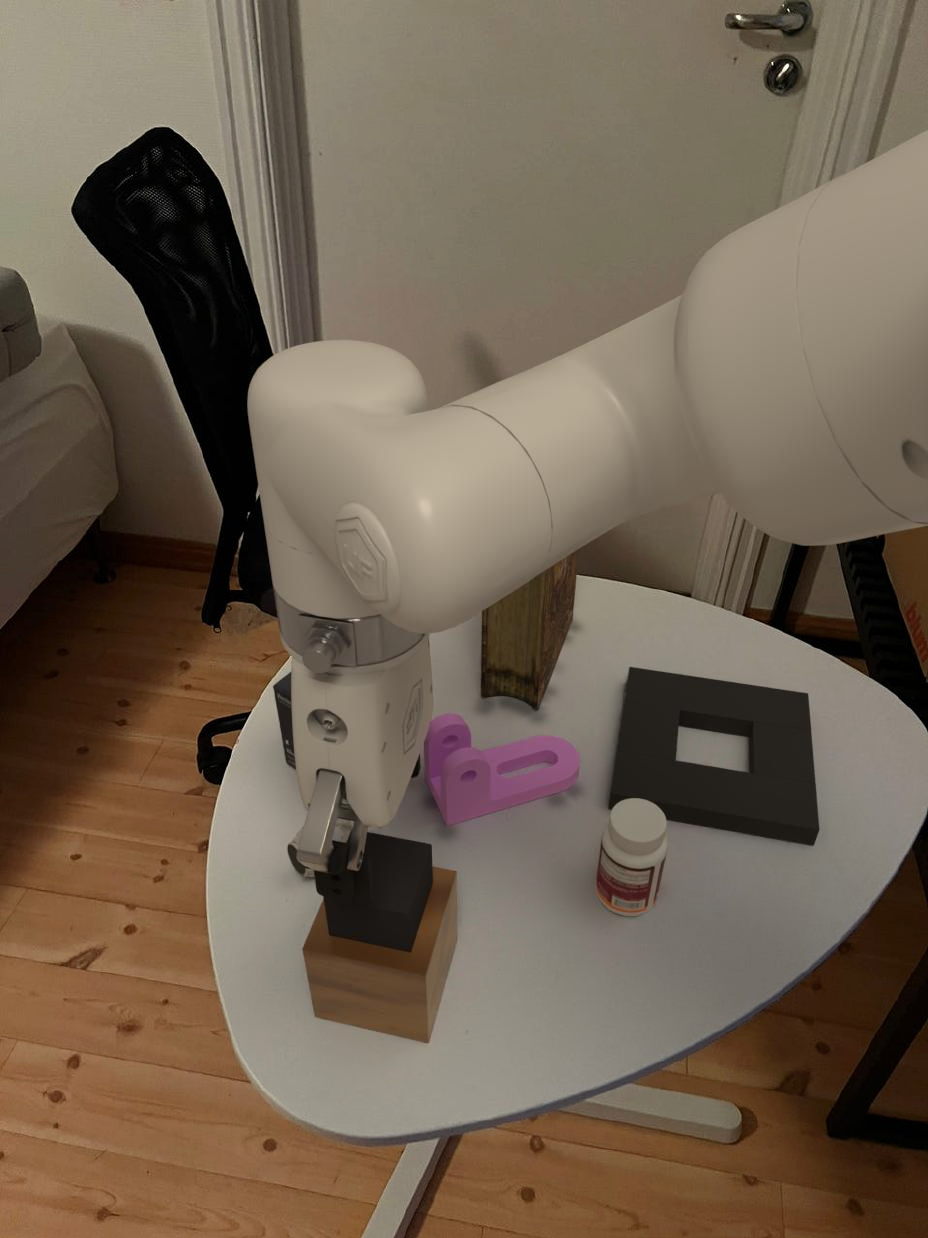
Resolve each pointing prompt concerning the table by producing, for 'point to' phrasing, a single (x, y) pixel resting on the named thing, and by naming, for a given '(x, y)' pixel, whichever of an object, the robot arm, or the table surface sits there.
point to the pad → (387, 895)
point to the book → (528, 633)
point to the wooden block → (386, 970)
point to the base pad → (713, 796)
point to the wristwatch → (293, 846)
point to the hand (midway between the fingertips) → (372, 829)
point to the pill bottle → (632, 857)
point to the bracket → (491, 770)
